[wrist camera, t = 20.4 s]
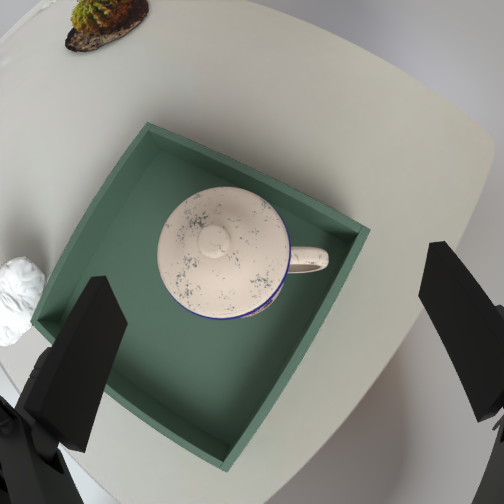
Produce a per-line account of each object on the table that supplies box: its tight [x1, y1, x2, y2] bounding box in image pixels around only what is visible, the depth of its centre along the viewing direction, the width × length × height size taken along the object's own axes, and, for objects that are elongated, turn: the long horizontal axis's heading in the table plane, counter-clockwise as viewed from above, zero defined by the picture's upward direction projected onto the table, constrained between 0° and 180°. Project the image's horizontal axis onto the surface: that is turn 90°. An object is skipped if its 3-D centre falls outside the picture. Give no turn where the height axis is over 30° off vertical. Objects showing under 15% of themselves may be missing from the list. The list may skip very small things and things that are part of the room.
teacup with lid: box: [157, 187, 329, 320], centre depth 24 cm, size 12×9×12 cm
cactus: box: [65, 0, 148, 52], centre depth 37 cm, size 17×16×10 cm
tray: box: [30, 122, 370, 473], centre depth 28 cm, size 24×24×5 cm
